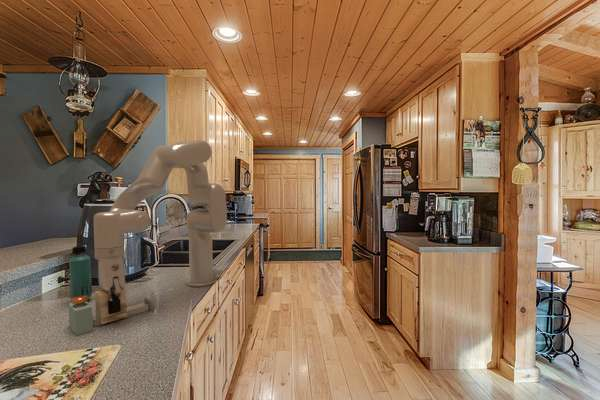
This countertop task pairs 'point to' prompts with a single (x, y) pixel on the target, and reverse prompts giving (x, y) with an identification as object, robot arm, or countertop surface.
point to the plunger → (79, 301)
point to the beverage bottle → (80, 273)
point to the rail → (131, 310)
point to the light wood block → (102, 306)
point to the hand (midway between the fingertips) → (111, 309)
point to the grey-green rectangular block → (80, 318)
